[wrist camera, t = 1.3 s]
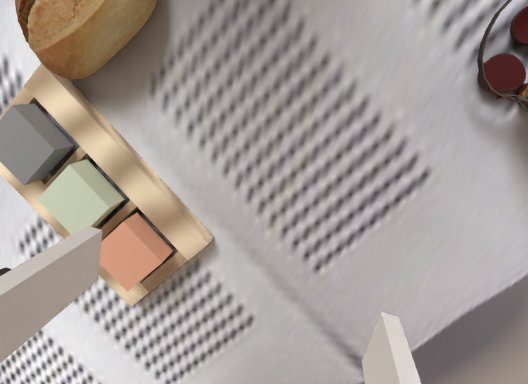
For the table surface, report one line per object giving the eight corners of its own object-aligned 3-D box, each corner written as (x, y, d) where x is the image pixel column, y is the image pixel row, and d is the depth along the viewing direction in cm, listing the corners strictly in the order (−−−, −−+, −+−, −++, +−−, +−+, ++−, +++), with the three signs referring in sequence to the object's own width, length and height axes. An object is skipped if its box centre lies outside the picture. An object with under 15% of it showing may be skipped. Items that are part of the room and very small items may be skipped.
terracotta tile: (105, 242, 42) (89, 253, 39) (137, 212, 40) (123, 221, 38) (140, 278, 43) (127, 291, 40) (173, 250, 41) (162, 262, 38)
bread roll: (34, 33, 39) (-36, 19, 31) (119, -81, 34) (61, -129, 27) (96, 101, 40) (43, 104, 32) (186, 0, 35) (149, -24, 28)
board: (-10, 145, 43) (-25, 148, 41) (55, 64, 39) (41, 62, 37) (138, 298, 46) (130, 307, 44) (213, 236, 42) (208, 243, 40)
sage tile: (56, 191, 41) (37, 199, 38) (87, 159, 40) (68, 164, 37) (93, 229, 42) (76, 239, 39) (124, 199, 40) (109, 207, 37)
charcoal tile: (6, 139, 40) (-18, 143, 38) (34, 103, 39) (12, 104, 36) (44, 178, 41) (23, 185, 38) (74, 145, 39) (54, 149, 36)
